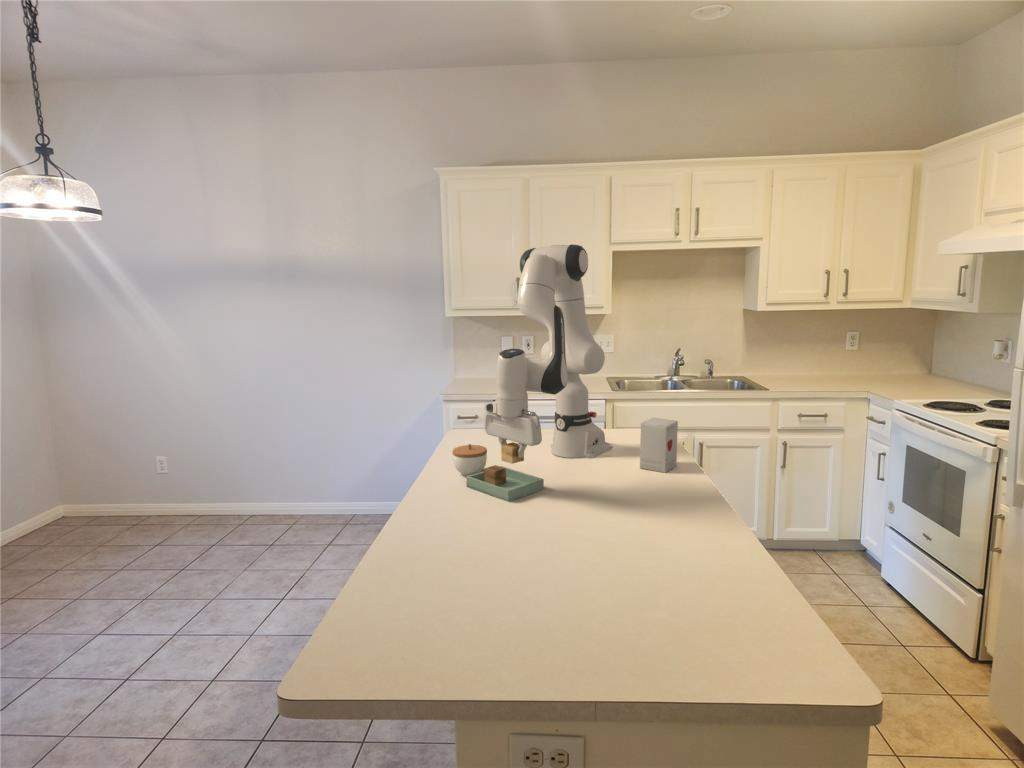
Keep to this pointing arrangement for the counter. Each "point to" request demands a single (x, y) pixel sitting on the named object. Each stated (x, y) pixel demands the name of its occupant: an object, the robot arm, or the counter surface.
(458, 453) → the lidded jar
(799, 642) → the counter surface
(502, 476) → the walnut block
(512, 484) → the tray
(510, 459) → the oak block
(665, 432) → the supplement box
